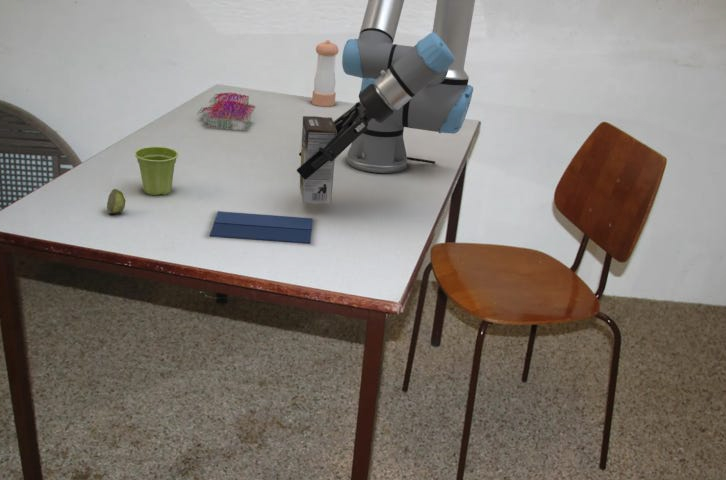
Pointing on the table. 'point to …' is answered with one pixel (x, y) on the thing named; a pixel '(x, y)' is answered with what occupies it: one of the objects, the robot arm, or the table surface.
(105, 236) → the table surface
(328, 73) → the pepper shaker
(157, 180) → the plant pot
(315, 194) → the coffee box
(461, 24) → the robot arm
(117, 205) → the lime
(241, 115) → the pink and grey package
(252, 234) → the napkin
